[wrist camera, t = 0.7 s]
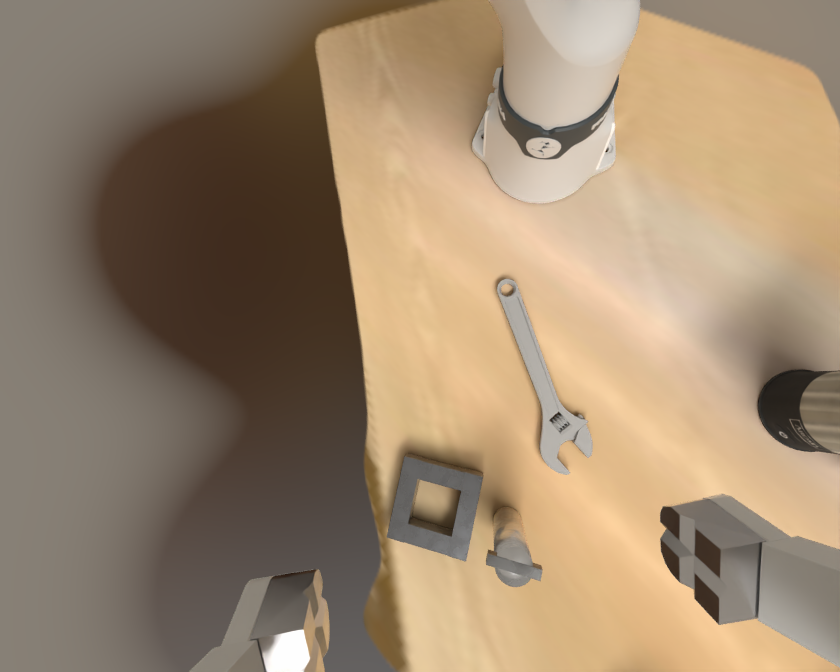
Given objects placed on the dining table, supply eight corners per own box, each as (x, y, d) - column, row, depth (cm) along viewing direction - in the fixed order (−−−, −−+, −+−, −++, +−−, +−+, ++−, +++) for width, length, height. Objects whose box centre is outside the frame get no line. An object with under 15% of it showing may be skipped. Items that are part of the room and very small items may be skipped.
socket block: (408, 453, 54) (404, 456, 51) (483, 472, 52) (483, 476, 49) (391, 530, 53) (386, 537, 50) (466, 553, 51) (465, 561, 49)
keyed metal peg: (490, 501, 51) (490, 540, 39) (530, 512, 50) (545, 556, 38) (484, 530, 51) (483, 578, 38) (525, 541, 50) (537, 595, 37)
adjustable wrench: (493, 285, 55) (493, 281, 53) (541, 272, 54) (542, 268, 53) (545, 473, 51) (547, 476, 49) (598, 462, 50) (602, 465, 49)
